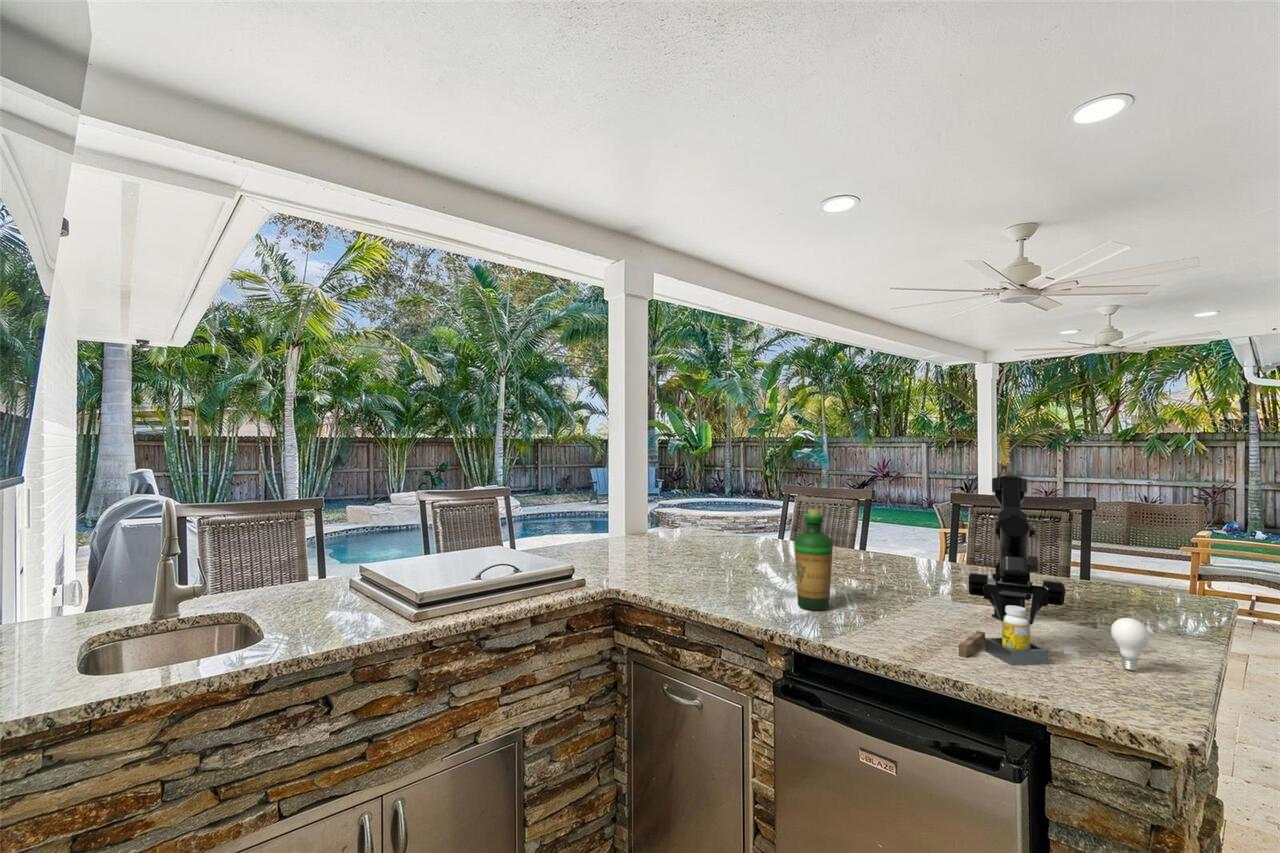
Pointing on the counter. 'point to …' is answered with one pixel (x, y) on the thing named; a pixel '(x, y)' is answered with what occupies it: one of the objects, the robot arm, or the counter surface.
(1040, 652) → the metal pocket
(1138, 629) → the lightbulb
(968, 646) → the brown wooden bar
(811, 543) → the bottle
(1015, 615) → the supplement bottle
